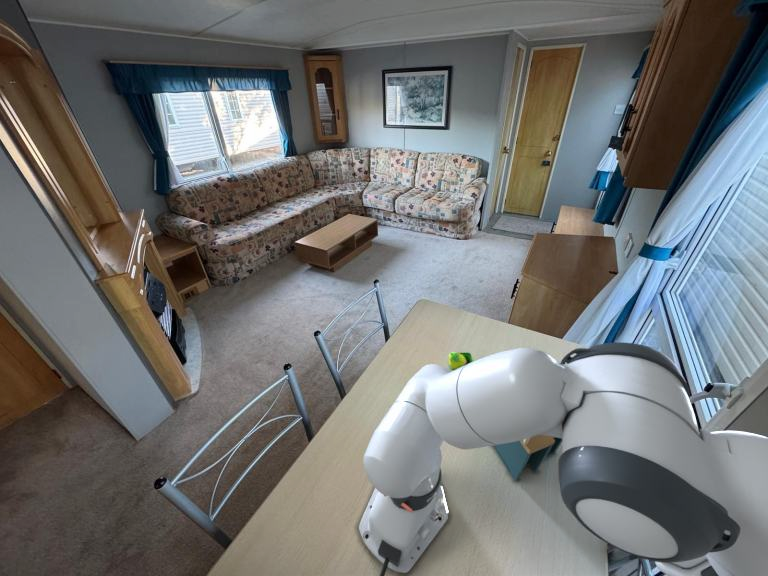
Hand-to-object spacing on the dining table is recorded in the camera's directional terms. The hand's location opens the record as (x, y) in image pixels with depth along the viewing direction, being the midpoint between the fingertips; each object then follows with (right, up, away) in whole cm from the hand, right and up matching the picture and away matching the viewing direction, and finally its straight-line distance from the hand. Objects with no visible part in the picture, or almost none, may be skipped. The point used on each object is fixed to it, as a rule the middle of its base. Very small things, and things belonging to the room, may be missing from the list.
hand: (660, 456), depth 51 cm
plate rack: (-9, -16, +33) cm, 38 cm away
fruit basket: (-21, -2, +53) cm, 57 cm away
